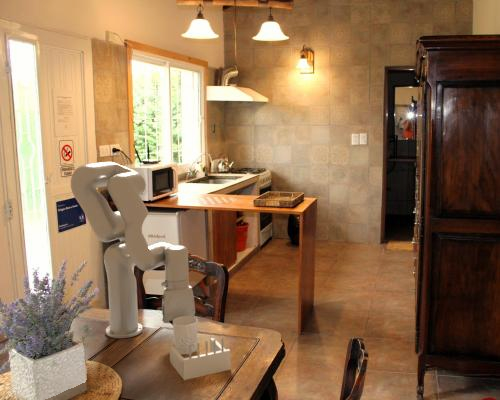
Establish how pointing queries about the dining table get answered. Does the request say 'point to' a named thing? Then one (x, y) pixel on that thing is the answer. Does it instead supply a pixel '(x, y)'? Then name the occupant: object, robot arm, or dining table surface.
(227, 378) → the dining table surface
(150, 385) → the dining table surface
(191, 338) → the white cup
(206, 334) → the dining table surface
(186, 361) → the drying rack
